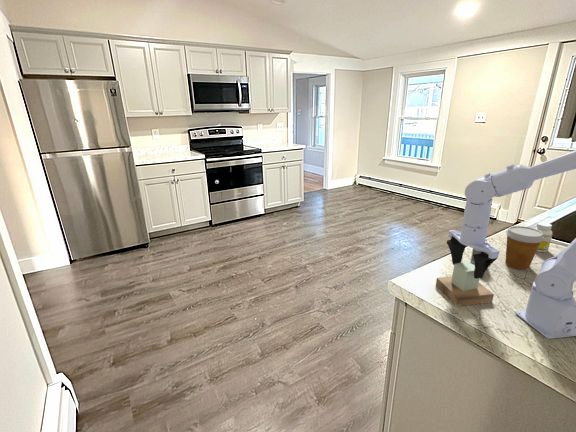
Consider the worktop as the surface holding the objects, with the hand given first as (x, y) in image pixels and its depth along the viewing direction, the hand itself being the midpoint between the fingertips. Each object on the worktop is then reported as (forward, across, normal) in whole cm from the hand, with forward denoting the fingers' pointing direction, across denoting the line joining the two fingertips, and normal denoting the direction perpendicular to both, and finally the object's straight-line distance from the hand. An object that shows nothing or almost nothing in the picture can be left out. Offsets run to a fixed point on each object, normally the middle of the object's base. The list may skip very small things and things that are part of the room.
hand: (466, 270), depth 83 cm
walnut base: (+7, 0, 0) cm, 7 cm away
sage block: (+5, 0, 0) cm, 5 cm away
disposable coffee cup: (+8, +8, -28) cm, 30 cm away
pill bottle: (+8, +12, -17) cm, 22 cm away
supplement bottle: (+8, +15, -46) cm, 48 cm away
